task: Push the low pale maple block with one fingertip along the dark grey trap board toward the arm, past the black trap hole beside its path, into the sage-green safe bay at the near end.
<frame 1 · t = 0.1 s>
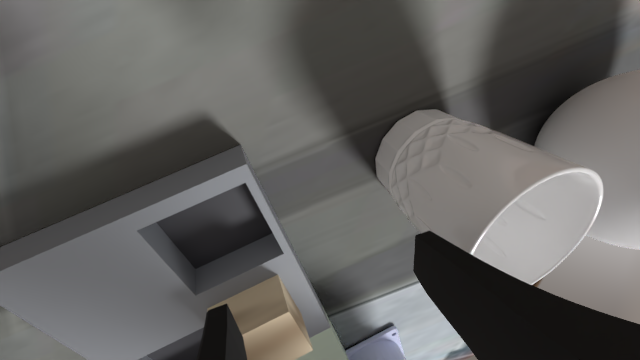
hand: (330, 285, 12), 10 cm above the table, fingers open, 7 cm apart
maple block: (257, 311, 22), point 2 cm above the table, touching trap board
white cup: (413, 151, 23), on the table
trap board: (227, 315, 25), on the table
cat head: (550, 129, 27), on the table
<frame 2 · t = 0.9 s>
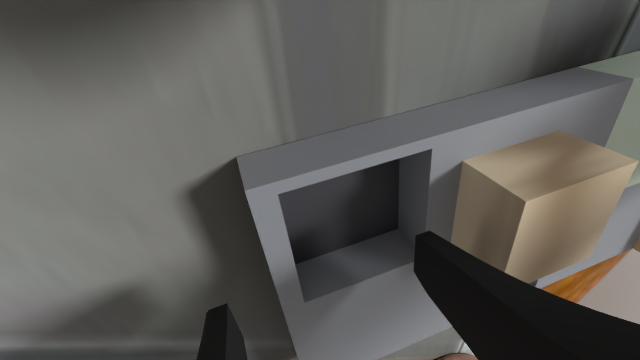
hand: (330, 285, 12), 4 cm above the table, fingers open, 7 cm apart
maple block: (501, 192, 15), point 2 cm above the table, touching trap board
trap board: (486, 201, 19), on the table
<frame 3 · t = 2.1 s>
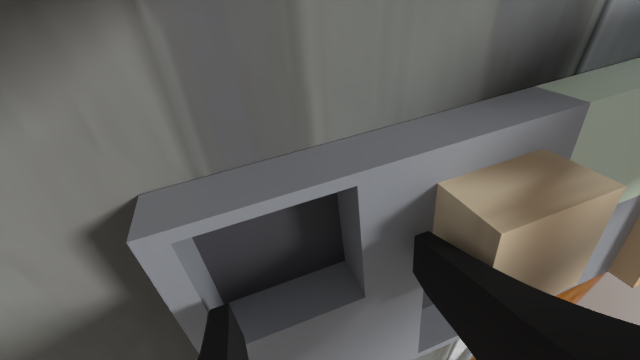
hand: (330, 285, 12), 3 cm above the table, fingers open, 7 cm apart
maple block: (482, 214, 14), point 3 cm above the table
trap board: (444, 228, 17), on the table
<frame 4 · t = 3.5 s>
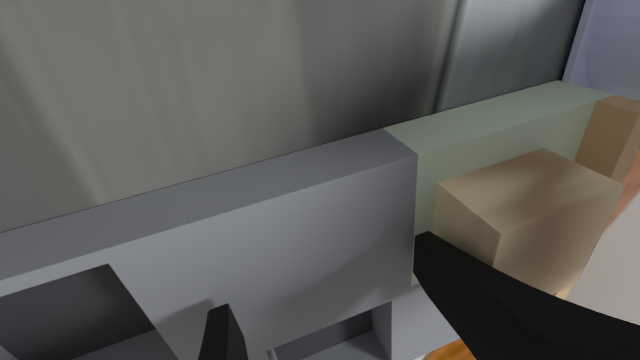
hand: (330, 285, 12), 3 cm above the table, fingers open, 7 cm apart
maple block: (482, 214, 14), point 3 cm above the table, touching gripper, trap board
trap board: (312, 275, 16), on the table
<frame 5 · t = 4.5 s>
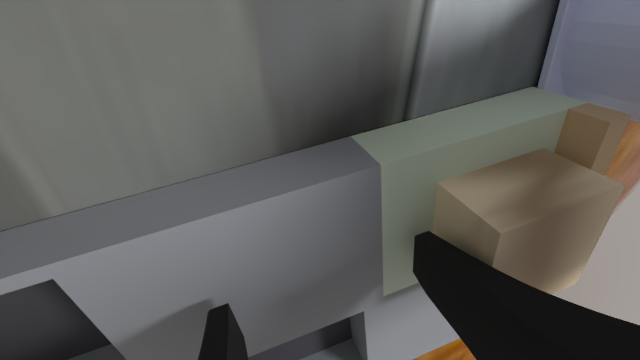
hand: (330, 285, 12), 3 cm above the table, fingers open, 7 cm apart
maple block: (482, 213, 14), point 2 cm above the table, touching gripper, trap board
trap board: (285, 285, 15), on the table
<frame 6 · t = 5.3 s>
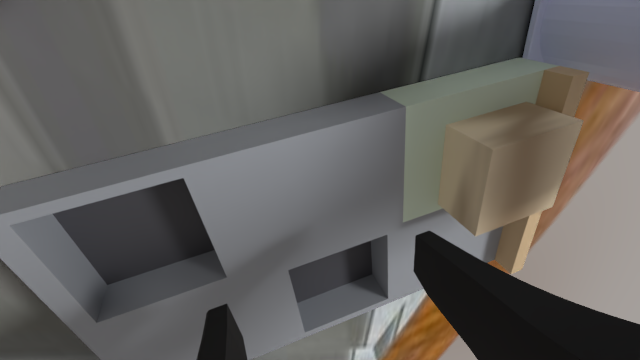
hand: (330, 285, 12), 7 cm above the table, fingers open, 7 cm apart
maple block: (480, 155, 17), point 2 cm above the table, touching trap board
trap board: (323, 218, 19), on the table
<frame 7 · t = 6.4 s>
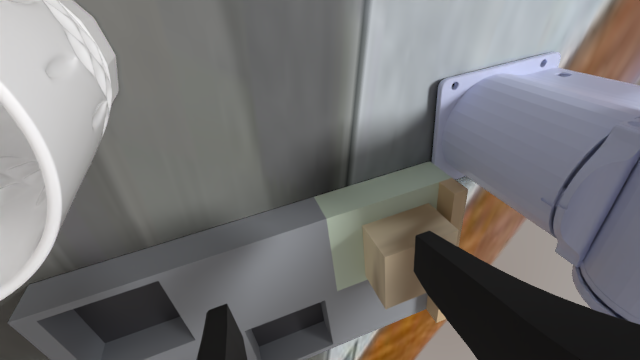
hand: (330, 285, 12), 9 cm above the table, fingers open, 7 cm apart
maple block: (395, 240, 22), point 2 cm above the table, touching trap board
white cup: (25, 59, 13), on the table
trap board: (277, 284, 24), on the table
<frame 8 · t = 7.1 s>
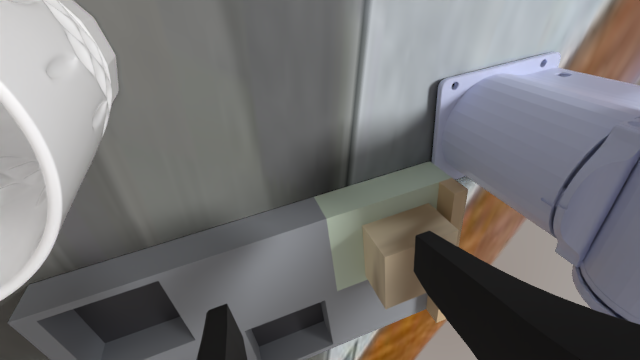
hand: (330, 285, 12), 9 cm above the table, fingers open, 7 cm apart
maple block: (395, 240, 22), point 2 cm above the table, touching trap board
white cup: (25, 59, 13), on the table
trap board: (277, 284, 24), on the table
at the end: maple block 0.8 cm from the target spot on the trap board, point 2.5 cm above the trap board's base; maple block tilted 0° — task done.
